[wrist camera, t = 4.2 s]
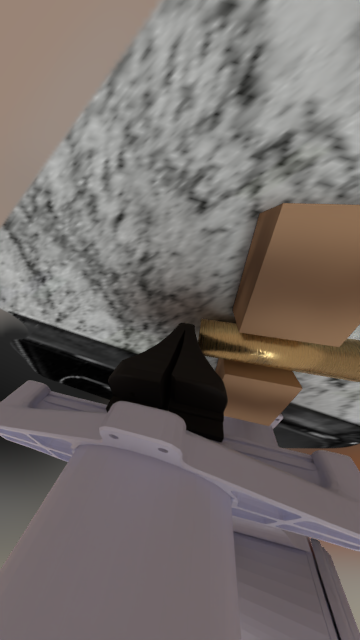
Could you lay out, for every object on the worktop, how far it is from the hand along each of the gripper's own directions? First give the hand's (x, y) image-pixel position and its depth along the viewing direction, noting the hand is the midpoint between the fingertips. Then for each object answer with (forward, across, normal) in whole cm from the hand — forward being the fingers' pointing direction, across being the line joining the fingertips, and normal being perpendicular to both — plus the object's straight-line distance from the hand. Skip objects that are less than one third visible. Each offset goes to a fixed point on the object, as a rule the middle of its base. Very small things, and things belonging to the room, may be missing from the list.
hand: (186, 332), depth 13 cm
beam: (+1, -7, 0) cm, 7 cm away
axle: (+1, -7, 0) cm, 7 cm away
